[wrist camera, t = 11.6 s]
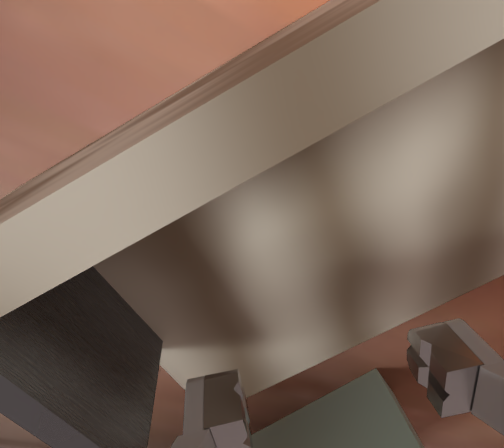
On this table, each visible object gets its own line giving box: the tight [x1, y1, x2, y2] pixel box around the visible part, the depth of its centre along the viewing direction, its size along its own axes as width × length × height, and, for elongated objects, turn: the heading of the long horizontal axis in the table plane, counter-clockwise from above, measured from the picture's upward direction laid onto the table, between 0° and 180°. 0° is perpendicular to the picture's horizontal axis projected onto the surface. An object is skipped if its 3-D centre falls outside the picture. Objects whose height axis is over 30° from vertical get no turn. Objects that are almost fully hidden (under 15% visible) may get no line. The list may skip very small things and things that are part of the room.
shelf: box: [0, 0, 504, 448], centre depth 12 cm, size 20×15×10 cm
